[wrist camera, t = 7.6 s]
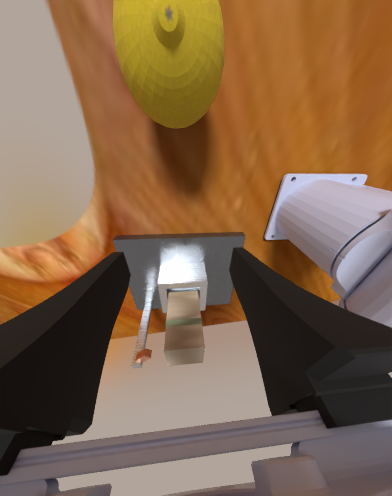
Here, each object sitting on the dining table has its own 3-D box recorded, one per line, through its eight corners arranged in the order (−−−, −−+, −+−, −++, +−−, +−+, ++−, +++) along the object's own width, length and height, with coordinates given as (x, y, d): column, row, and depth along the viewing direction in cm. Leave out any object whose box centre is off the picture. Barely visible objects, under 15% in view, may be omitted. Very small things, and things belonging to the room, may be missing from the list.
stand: (242, 232, 20) (282, 289, 12) (227, 298, 28) (246, 358, 20) (115, 235, 18) (69, 302, 11) (138, 304, 26) (121, 371, 19)
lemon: (204, 136, 14) (226, 130, 7) (140, 125, 13) (97, 107, 6) (216, 38, 10) (278, -137, 4) (133, 15, 10) (34, -256, 3)
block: (198, 290, 18) (205, 346, 13) (197, 307, 20) (203, 362, 15) (168, 292, 18) (163, 350, 13) (170, 309, 20) (167, 366, 15)
